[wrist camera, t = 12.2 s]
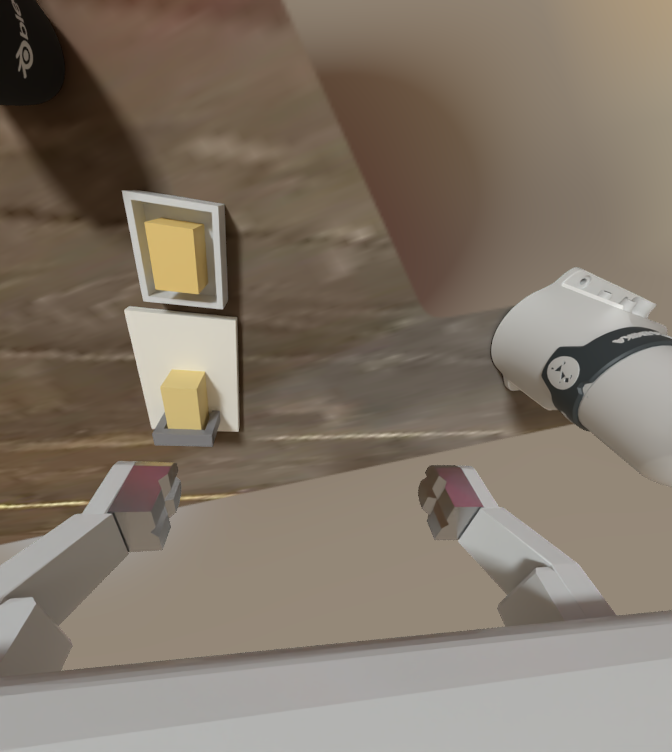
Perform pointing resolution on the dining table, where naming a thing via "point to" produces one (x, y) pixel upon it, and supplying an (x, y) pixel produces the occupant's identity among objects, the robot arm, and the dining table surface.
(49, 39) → the mug
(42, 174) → the dining table surface
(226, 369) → the board
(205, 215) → the stub tray
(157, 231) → the stub
